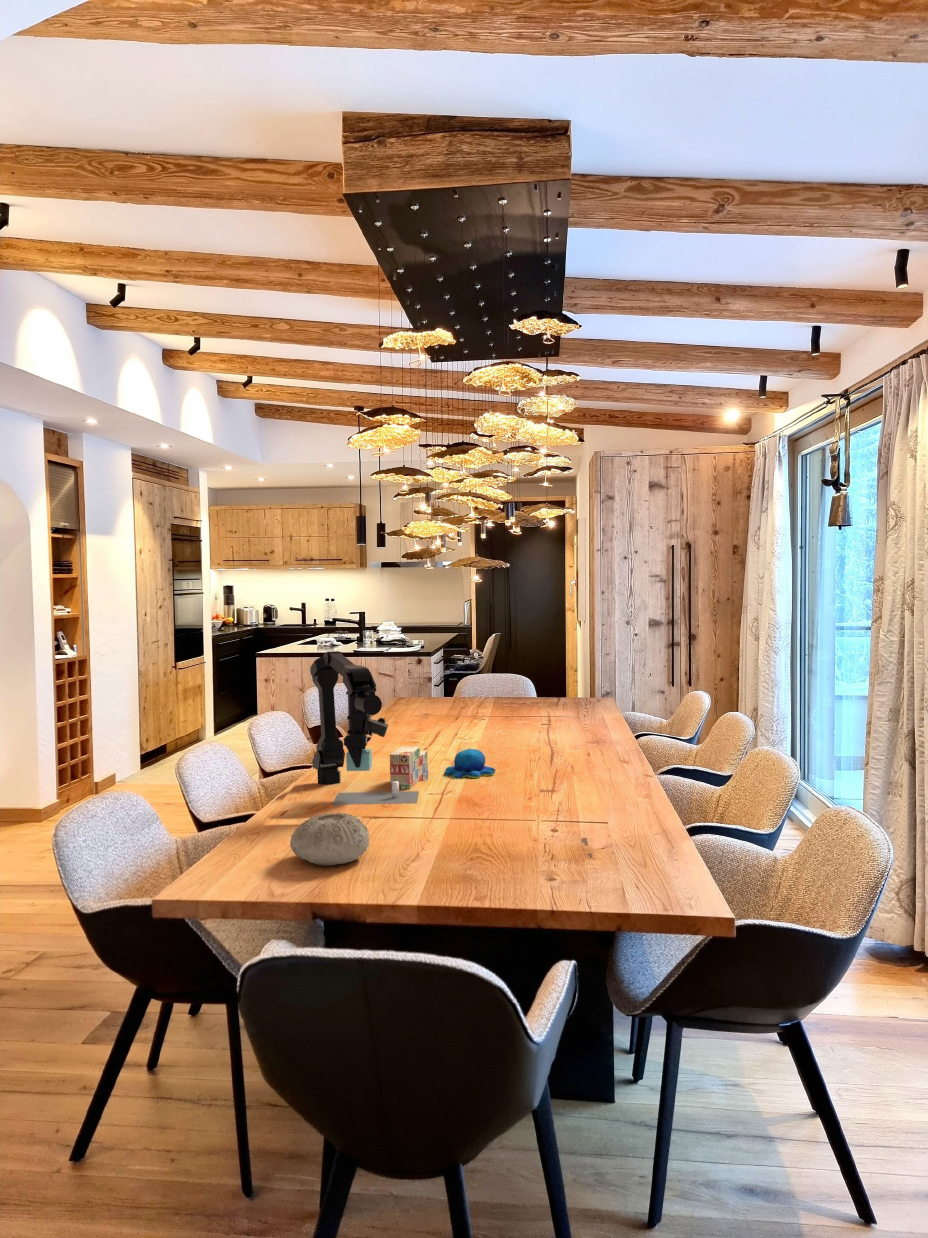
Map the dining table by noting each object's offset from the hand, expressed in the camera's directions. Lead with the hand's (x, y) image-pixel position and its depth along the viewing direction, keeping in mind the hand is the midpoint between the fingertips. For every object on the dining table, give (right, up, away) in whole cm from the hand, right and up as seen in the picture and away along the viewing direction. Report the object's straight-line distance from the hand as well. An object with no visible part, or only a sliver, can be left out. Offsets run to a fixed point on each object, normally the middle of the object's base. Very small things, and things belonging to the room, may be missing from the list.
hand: (359, 765), depth 247 cm
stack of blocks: (+13, -11, +21) cm, 27 cm away
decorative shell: (0, -13, -50) cm, 52 cm away
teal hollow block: (0, -1, 0) cm, 1 cm away
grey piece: (+5, -11, +1) cm, 12 cm away
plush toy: (+32, -10, +38) cm, 51 cm away
